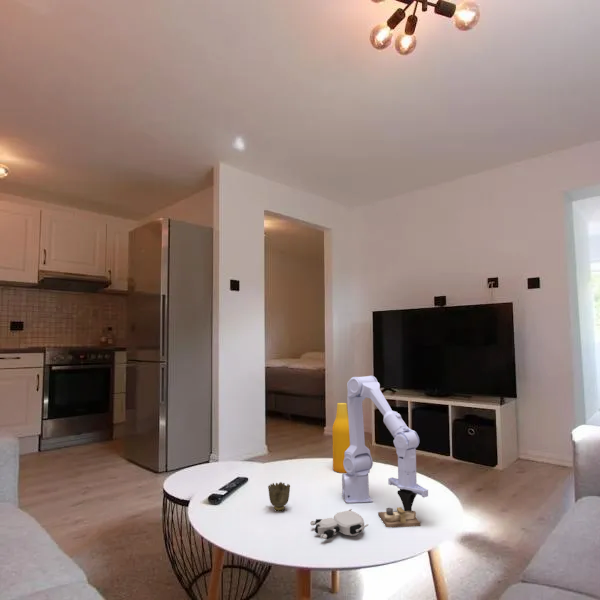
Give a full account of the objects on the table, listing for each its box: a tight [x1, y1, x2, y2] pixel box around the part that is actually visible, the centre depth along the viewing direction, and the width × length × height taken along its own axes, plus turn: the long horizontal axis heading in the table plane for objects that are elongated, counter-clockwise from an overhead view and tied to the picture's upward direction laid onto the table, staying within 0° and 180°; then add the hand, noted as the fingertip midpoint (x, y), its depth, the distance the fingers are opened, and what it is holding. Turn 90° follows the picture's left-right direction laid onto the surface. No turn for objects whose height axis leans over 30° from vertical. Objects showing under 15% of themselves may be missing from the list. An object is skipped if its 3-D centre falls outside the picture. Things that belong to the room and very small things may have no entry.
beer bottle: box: [331, 402, 350, 474], centre depth 189 cm, size 9×9×29 cm
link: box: [385, 510, 417, 522], centre depth 133 cm, size 10×3×2 cm, turn 102°
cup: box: [267, 481, 291, 512], centre depth 144 cm, size 8×7×8 cm
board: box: [377, 507, 421, 528], centre depth 134 cm, size 11×9×4 cm
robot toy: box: [310, 508, 369, 540], centre depth 126 cm, size 12×4×15 cm
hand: (408, 513), depth 135 cm, fingers closed, pressing on link
